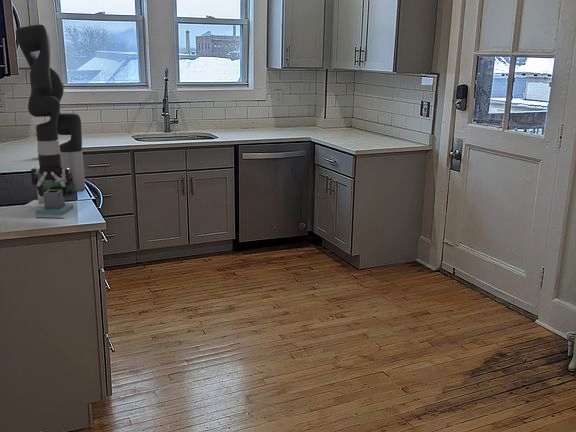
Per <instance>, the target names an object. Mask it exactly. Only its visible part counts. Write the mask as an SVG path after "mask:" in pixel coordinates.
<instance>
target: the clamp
mask: <svg viewBox="0 0 576 432" xmlns="http://www.w3.org/2000/svg"><path fill="white" fill-rule="evenodd" d="M43 186H44V192H46V191H48V190H62V187H63V186H62V185H61V184H60V183H59V182H46V183H45V182H44V183H43ZM73 192H74V191H73V189H72V184H70V185H68V194H72V193H73Z"/></svg>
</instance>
